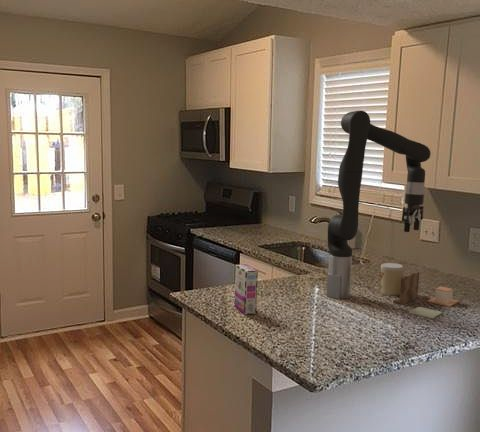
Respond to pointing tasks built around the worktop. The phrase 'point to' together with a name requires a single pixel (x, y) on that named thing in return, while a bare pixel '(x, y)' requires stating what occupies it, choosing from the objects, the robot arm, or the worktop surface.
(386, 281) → the coffee cup
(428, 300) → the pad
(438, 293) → the block
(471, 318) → the worktop surface
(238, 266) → the candy bar box
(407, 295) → the screen
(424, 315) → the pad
